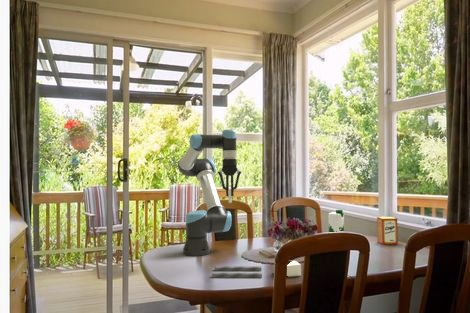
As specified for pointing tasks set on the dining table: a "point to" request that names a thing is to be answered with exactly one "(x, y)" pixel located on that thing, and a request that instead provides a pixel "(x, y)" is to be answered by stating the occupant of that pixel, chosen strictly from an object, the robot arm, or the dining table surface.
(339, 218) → the milk carton
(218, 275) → the twin grey rails
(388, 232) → the baking soda box
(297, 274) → the cream block
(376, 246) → the dining table surface
